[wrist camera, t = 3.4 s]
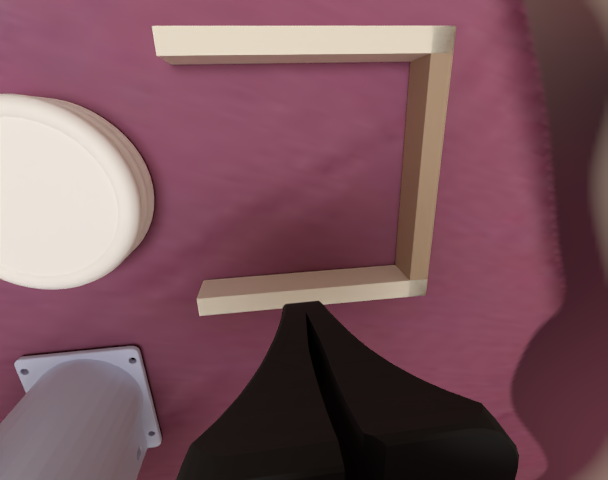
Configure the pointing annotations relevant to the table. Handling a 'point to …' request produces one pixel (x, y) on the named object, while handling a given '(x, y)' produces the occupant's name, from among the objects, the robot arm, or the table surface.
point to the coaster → (67, 194)
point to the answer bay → (416, 156)
